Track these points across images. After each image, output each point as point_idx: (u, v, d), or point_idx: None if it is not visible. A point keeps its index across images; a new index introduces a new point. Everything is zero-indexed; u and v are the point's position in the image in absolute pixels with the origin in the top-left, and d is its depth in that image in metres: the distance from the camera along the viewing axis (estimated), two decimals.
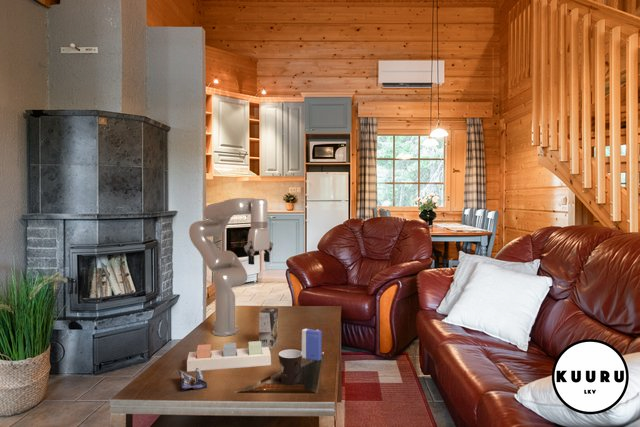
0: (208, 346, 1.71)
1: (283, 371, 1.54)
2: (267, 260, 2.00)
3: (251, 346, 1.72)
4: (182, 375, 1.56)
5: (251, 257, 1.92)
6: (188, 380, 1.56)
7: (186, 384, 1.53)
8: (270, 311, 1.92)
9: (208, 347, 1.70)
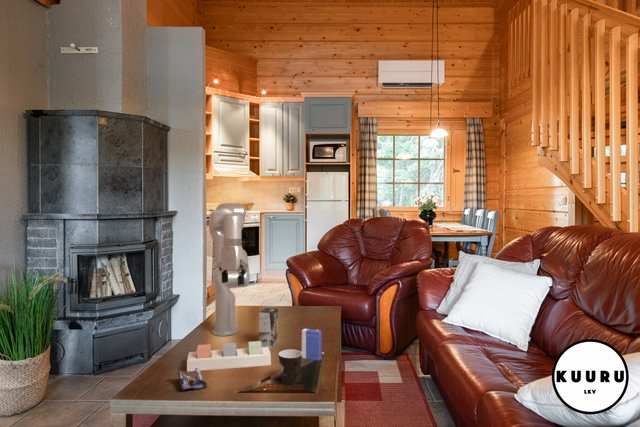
0: (208, 346, 1.71)
1: (283, 371, 1.54)
2: (227, 280, 1.86)
3: (251, 346, 1.72)
4: (181, 376, 1.56)
5: None
6: (187, 381, 1.56)
7: (185, 385, 1.52)
8: (270, 311, 1.92)
9: (208, 347, 1.70)
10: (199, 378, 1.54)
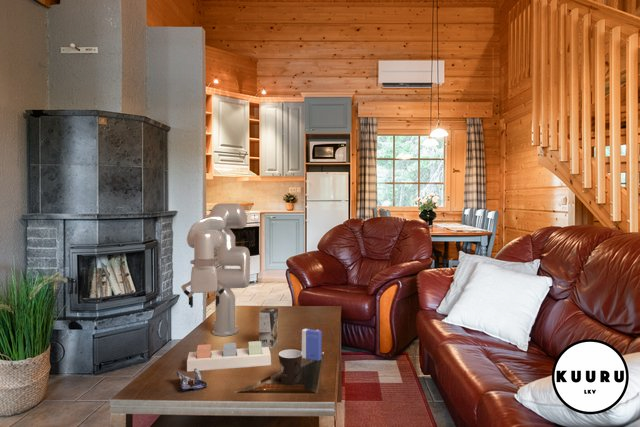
0: (208, 346, 1.71)
1: (283, 371, 1.54)
2: None
3: (251, 346, 1.72)
4: (180, 376, 1.55)
5: None
6: (186, 381, 1.56)
7: (185, 385, 1.52)
8: (270, 311, 1.92)
9: (208, 347, 1.70)
10: (198, 378, 1.54)
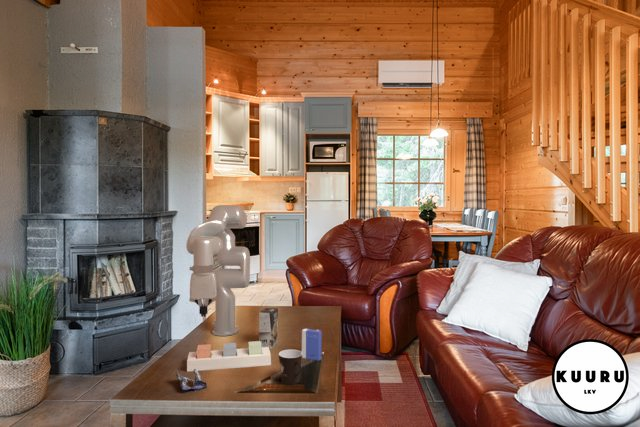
0: (208, 346, 1.71)
1: (283, 371, 1.54)
2: (203, 313, 1.71)
3: (251, 346, 1.72)
4: (179, 377, 1.55)
5: None
6: (185, 382, 1.55)
7: (184, 386, 1.52)
8: (270, 311, 1.92)
9: (208, 347, 1.70)
10: (198, 379, 1.53)
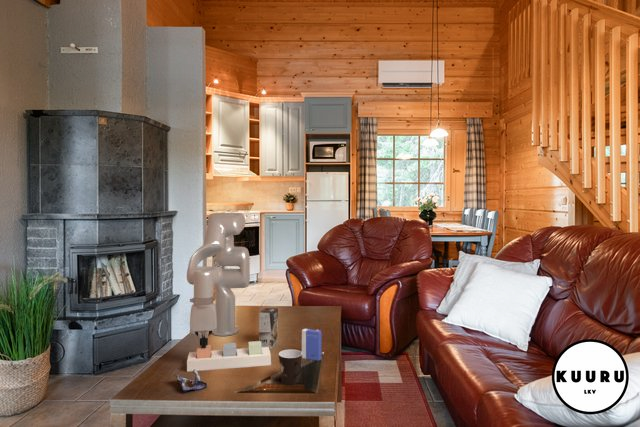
0: (208, 346, 1.71)
1: (283, 371, 1.54)
2: None
3: (251, 346, 1.72)
4: (178, 378, 1.54)
5: None
6: (184, 382, 1.55)
7: (184, 386, 1.51)
8: (270, 311, 1.92)
9: (208, 347, 1.70)
10: (198, 379, 1.53)
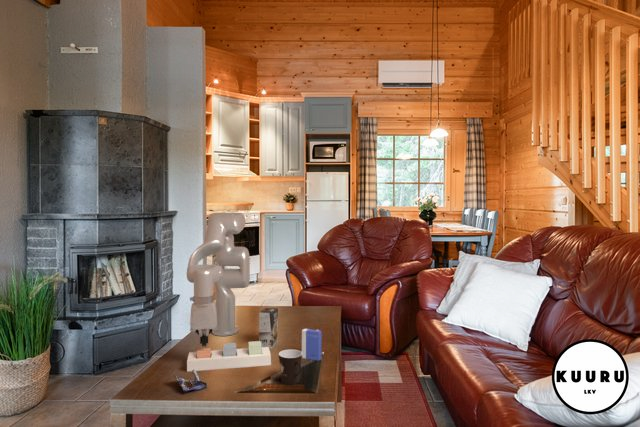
0: (208, 350, 1.71)
1: (283, 371, 1.54)
2: None
3: (251, 346, 1.72)
4: (177, 379, 1.53)
5: None
6: (183, 383, 1.54)
7: (183, 387, 1.51)
8: (270, 311, 1.92)
9: (208, 351, 1.70)
10: (197, 379, 1.53)
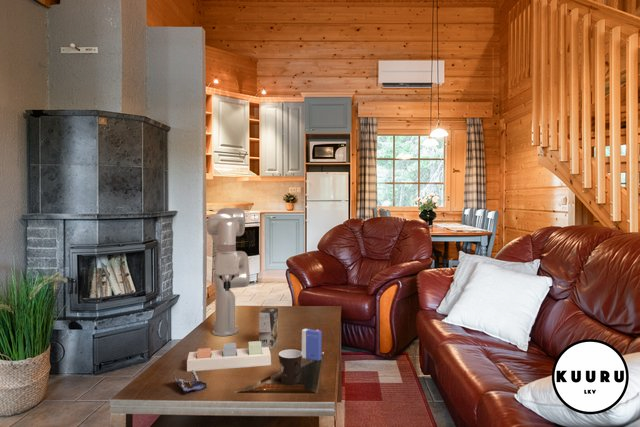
0: (208, 350, 1.71)
1: (283, 371, 1.54)
2: None
3: (251, 346, 1.72)
4: (176, 379, 1.52)
5: None
6: (182, 384, 1.53)
7: (183, 387, 1.50)
8: (270, 311, 1.92)
9: (208, 351, 1.70)
10: (196, 379, 1.53)
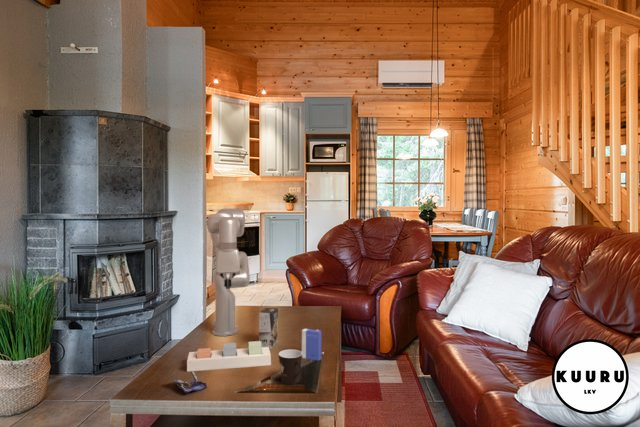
0: (208, 350, 1.71)
1: (283, 371, 1.54)
2: None
3: (251, 346, 1.72)
4: (175, 380, 1.52)
5: None
6: (181, 384, 1.53)
7: None
8: (270, 311, 1.92)
9: (208, 351, 1.70)
10: (196, 380, 1.52)
